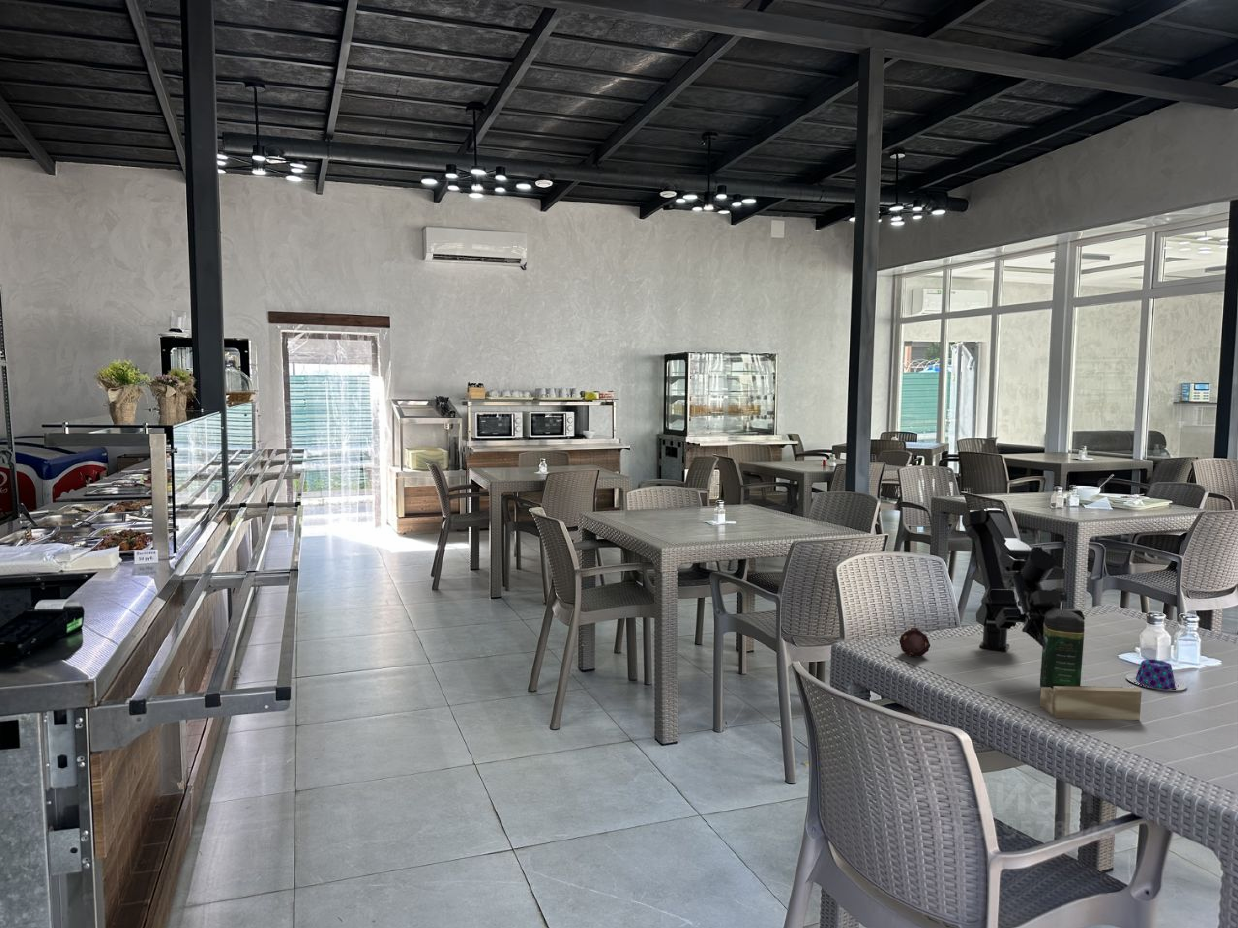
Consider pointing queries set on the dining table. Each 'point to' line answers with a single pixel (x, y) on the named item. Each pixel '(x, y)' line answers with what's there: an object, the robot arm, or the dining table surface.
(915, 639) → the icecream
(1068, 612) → the coffee jar
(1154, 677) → the purple patterned hat
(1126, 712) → the block
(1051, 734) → the dining table surface
